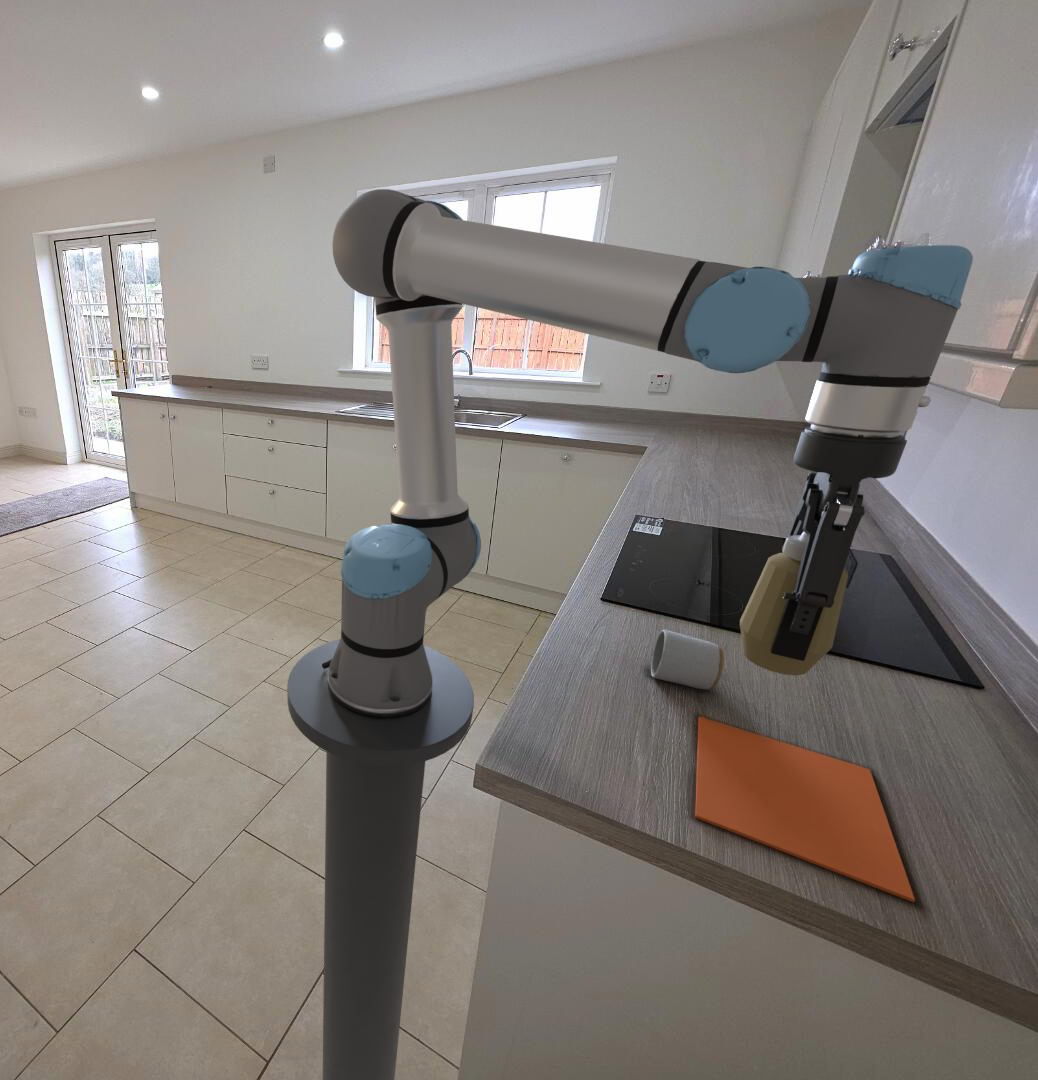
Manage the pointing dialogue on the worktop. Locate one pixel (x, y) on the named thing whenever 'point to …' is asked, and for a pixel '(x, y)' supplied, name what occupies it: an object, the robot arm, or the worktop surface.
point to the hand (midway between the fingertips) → (783, 636)
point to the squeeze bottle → (770, 606)
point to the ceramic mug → (687, 660)
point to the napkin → (797, 804)
